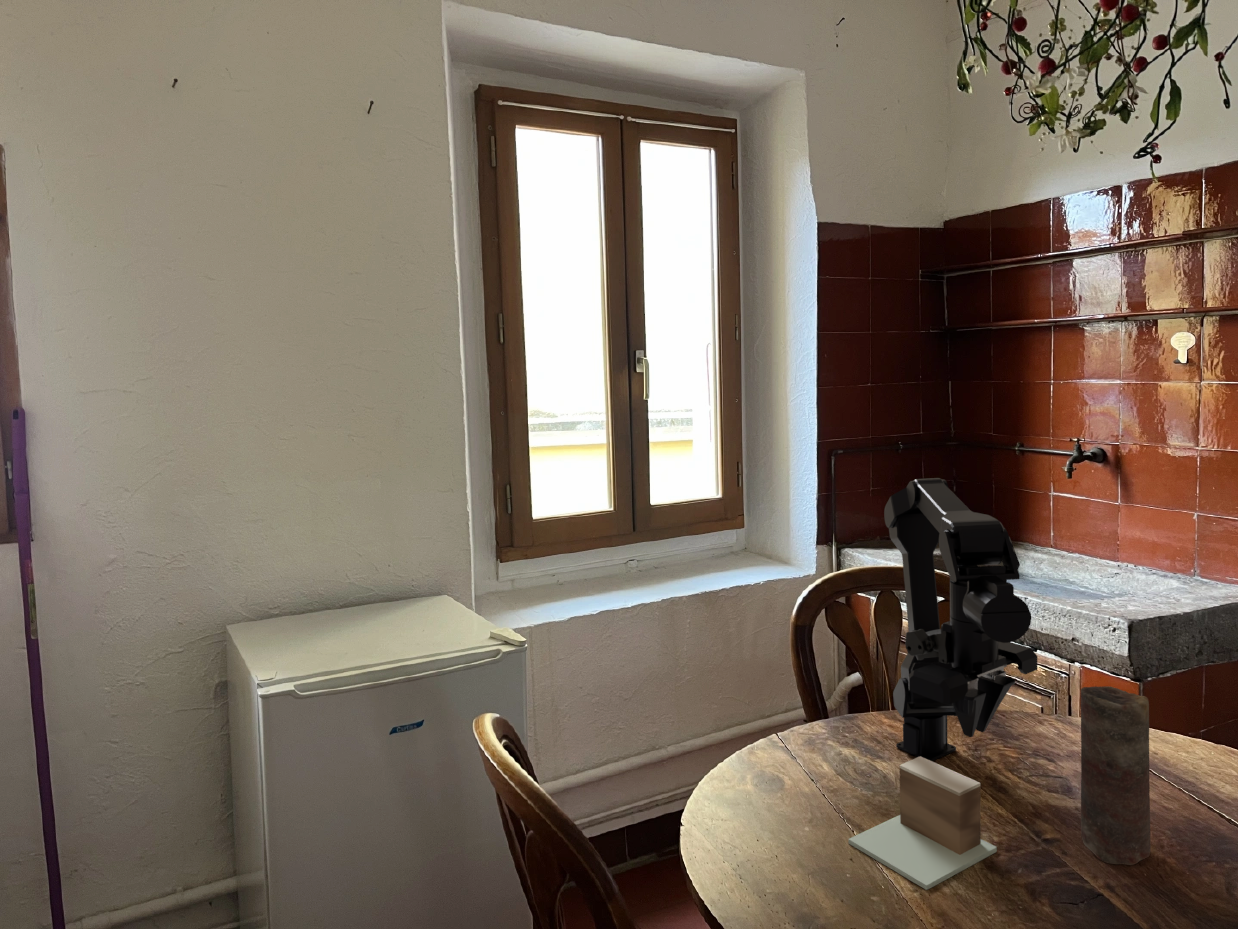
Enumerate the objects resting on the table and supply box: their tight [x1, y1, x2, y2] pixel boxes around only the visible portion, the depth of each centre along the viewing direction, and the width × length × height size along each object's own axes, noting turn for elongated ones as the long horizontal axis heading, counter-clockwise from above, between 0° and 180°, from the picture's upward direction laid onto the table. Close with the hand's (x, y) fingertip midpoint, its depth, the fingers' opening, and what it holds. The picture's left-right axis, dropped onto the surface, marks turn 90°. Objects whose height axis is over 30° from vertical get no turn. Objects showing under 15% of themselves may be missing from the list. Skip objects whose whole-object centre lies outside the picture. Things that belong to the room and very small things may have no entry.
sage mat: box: [847, 814, 998, 891], centre depth 107 cm, size 13×12×1 cm
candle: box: [1080, 685, 1151, 866], centre depth 104 cm, size 8×7×20 cm
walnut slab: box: [899, 756, 982, 855], centre depth 109 cm, size 4×9×8 cm, turn 32°
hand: (974, 733), depth 111 cm, fingers closed
